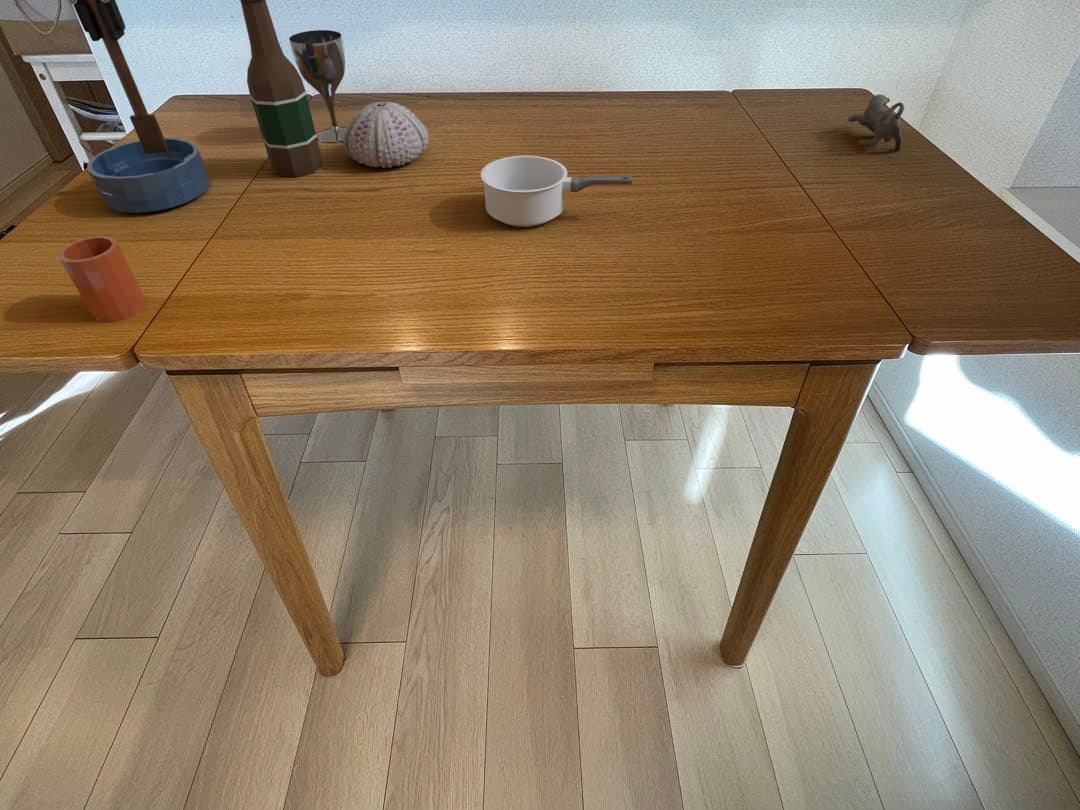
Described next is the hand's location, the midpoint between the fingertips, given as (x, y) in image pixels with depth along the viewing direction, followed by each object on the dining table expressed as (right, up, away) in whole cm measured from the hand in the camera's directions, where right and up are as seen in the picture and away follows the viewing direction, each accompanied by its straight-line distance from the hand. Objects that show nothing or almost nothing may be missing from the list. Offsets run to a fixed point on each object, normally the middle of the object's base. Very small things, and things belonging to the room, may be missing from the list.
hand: (108, 36), depth 82 cm
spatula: (0, -11, +10) cm, 15 cm away
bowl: (-2, -15, +14) cm, 21 cm away
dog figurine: (+109, -3, +26) cm, 112 cm away
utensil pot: (+7, -36, -8) cm, 37 cm away
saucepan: (+56, -20, +8) cm, 60 cm away
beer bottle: (+16, -9, +20) cm, 28 cm away
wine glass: (+19, 0, +30) cm, 36 cm away
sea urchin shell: (+30, -6, +23) cm, 38 cm away
